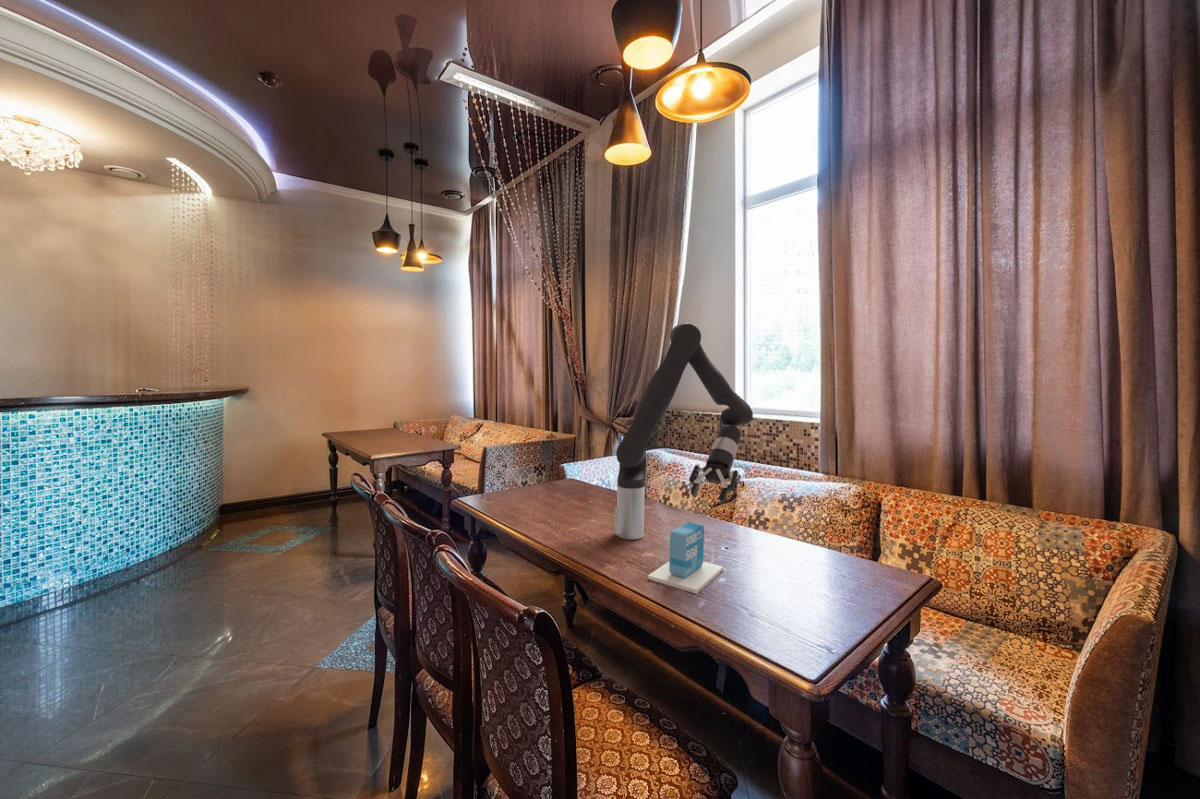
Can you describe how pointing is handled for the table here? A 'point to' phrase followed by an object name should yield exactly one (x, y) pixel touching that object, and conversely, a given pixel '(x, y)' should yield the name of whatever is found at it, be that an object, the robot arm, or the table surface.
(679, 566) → the data package
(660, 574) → the cream mat
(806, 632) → the table surface
